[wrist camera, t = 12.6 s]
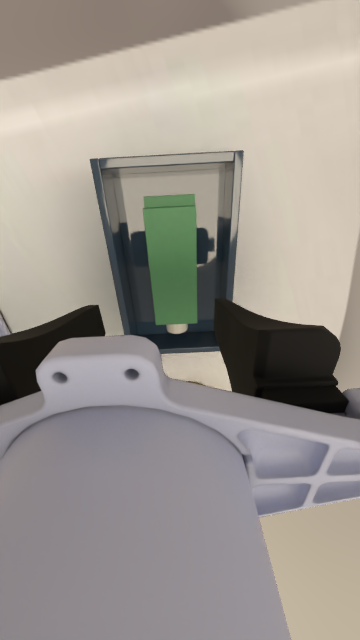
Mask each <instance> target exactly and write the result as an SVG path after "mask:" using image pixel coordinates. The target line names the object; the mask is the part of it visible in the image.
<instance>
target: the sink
mask: <svg viewBox="0 0 360 640" xmlns="http://www.w3.org/2000/svg"><path fill="white" fill-rule="evenodd" d="M243 153H244V151H243V150H241V151H235V152H234V151H223V152H205V153H187V154H169V155H151V156H133V157H115V158H99V159H98V158H96V159H90V163H91V168H92V173H93V179H94V184H95V189H96V194H97V199H98V204H99V209H100V214H101V219H102V224H103V229H104V234H105V239H106V244H107V249H108V254H109V259H110V264H111V269H112V274H113V280H114V285H115V290H116V295H117V300H118V305H119V310H120V315H121V320H122V325H123V330H124V335H134V336H140V337H146V338H147V339H149V340H150V341H151V342H153V343H154V344H156V345H157V347H158V350H159V352H160V354H169V353H191V352H214V351H220V349H219V346H218V343H217V340H216V336H215V331H214V306H215V299H223V298H225V299H227V300H229V301H231V302H232V300H233V287H234V274H235V260H236V247H237V233H238V220H239V207H240V193H241V180H242V167H243ZM184 194H195V206H196V231H197V323H194V324H188V329H187V330H186V331H185V332H183V333H180V334H173V333H170V332H168V331H167V327H166V325H156V322H155V313H154V304H153V295H152V287H151V278H150V269H149V260H148V252H147V243H146V234H145V225H144V216H143V208H144V199H143V197H146V196H165V195H184Z"/></svg>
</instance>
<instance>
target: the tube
mask: <svg viewBox="0 0 360 640" xmlns="http://www.w3.org/2000/svg"><path fill="white" fill-rule="evenodd" d="M143 199H144V208H143V216H144V225H145V234H146V243H147V252H148V260H149V269H150V278H151V287H152V295H153V304H154V313H155V322H156V325H166V327H167V331H168V332H170V333H173V334H180V333H183V332H185V331H186V330H187V329H188V324H194V323H197V231H196V206H195V194H184V195H165V196H146V197H143Z"/></svg>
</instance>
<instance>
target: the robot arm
mask: <svg viewBox="0 0 360 640" xmlns="http://www.w3.org/2000/svg"><path fill="white" fill-rule="evenodd" d="M214 331H215V336H216V340H217V343H218V346H219V349H220V351H221V354H222V357H223V360H224V362H225V365H226V368H227V371H228V375H229V379H230V384H231V388H232V392H230V391H226V390H221V389H217V388H212V387H208V386H203V385H199V384H194V383H190V382H185V381H181V380H176V379H172V378H169V377H168V376H166V375H165V373H164V371H163V367H162V358H161V354H160V352H159V350H158V347H157V345H156V344H154V343H153V342H151V341H150V340H149V339H147V338H146V337H140V336H134V335H121V336H105V329H104V325H103V321H102V317H101V313H100V309H99V305H88V306H85V307H82V308H79V309H77V310H75V311H73V312H71V313H68V314H66V315H64V316H62V317H59V318H57V319H55V320H52V321H50V322H48V323H45V324H43V325H40V326H37V327H34V328H31V329H28V330H24V331H21V332H17V333H13V334H10V332H9V330H8V328H7V326H6V324H5V322H4V320H3V318H2V316H1V314H0V640H291V638H290V633H289V630H288V626H287V622H286V618H285V614H284V611H283V607H282V603H281V600H280V596H279V592H278V588H277V584H276V581H275V577H274V573H273V570H272V565H271V562H270V558H269V554H268V550H267V547H266V543H265V539H264V536H263V531H262V528H261V524H260V520H259V518H260V517H265V516H270V515H275V514H280V513H285V512H290V511H296V510H301V509H306V508H311V507H316V506H321V505H326V504H331V503H337V502H342V501H348V500H354V499H360V388H353V389H347V390H345V391H344V392H343V393H341V392H340V390H339V389H338V388H337V387H336V385H338V381H337V380H336V378H335V377H334V376H333V372H334V369H335V367H336V364H337V361H338V359H339V355H340V350H341V347H340V342H339V340H338V339H337V337H336V336H335V335H333V334H332V333H331V332H330V331H329V330H328V329H326V328H325V327H324V326H317V325H302V324H295V323H288V322H282V321H278V320H274V319H270V318H266V317H264V316H261V315H258V314H255V313H253V312H251V311H248V310H246V309H244V308H242V307H240V306H239V305H237V304H235V303H233V302H231V301H229V300H227V299H225V298H223V299H215V306H214Z"/></svg>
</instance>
